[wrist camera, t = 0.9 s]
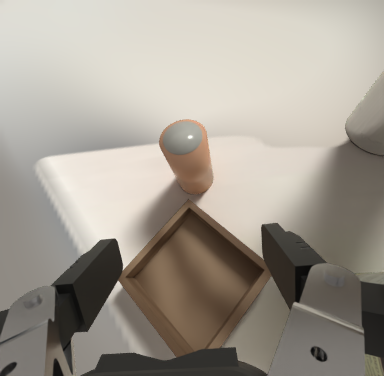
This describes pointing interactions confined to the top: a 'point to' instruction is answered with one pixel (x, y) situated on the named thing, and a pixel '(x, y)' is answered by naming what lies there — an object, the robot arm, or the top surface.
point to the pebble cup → (188, 155)
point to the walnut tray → (194, 281)
